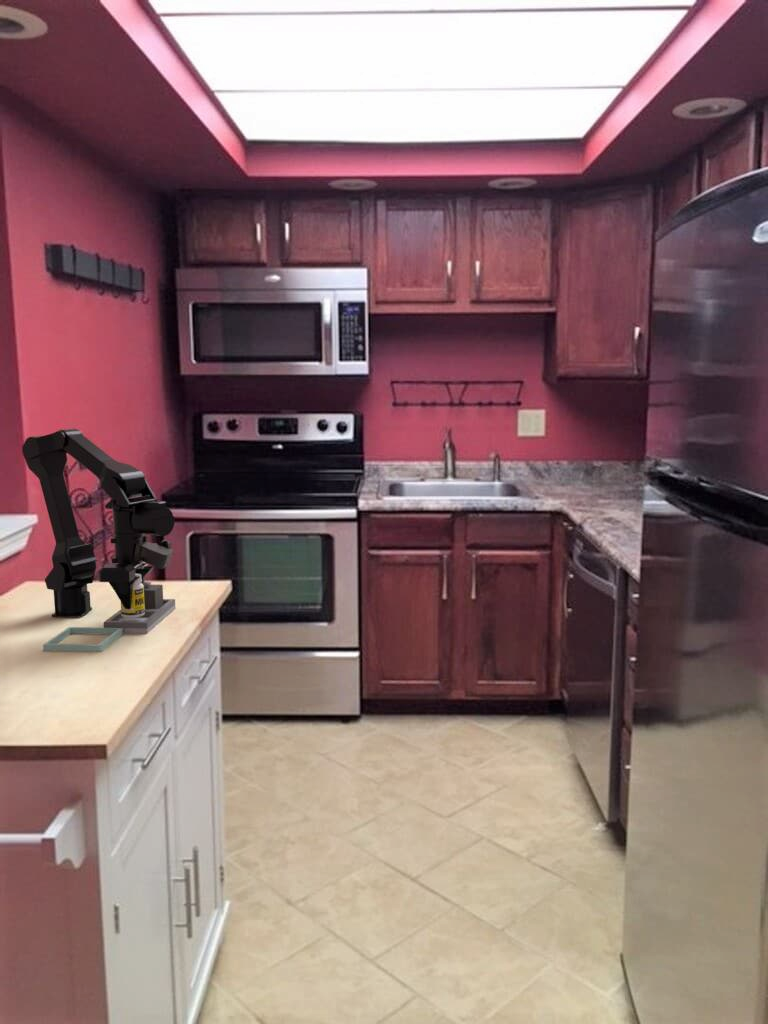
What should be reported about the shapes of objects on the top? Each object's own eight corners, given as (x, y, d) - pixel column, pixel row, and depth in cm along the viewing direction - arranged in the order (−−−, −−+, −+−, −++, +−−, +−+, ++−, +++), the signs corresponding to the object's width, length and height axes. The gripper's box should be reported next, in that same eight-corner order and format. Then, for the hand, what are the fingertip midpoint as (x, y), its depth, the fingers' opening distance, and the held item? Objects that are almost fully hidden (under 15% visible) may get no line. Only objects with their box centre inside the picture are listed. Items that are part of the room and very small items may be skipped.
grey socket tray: (104, 632, 170) (103, 622, 170) (136, 608, 188) (135, 598, 188) (147, 633, 170) (147, 622, 169) (175, 608, 187) (175, 599, 187)
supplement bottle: (138, 619, 171) (136, 579, 170) (117, 617, 172) (114, 577, 171) (149, 612, 176) (147, 573, 174) (128, 611, 177) (126, 572, 175)
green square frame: (43, 650, 159) (43, 644, 159) (69, 632, 170) (68, 626, 170) (101, 651, 159) (100, 645, 158) (123, 633, 170) (122, 627, 169)
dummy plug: (133, 612, 181) (131, 584, 180) (141, 606, 186) (140, 579, 185) (156, 613, 180) (154, 585, 179) (163, 606, 185) (162, 579, 184)
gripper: (151, 541, 161) (155, 619, 164) (181, 523, 180) (184, 594, 182) (95, 540, 162) (99, 618, 165) (130, 523, 180) (134, 593, 183)
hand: (132, 605), depth 174 cm, fingers closed on supplement bottle, 5 cm apart
